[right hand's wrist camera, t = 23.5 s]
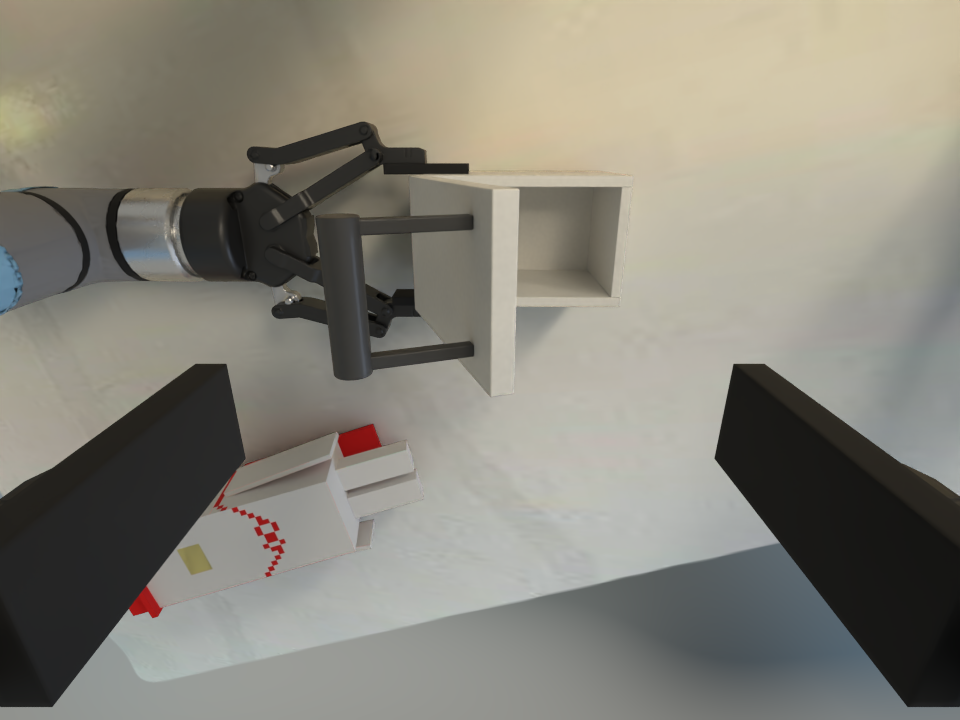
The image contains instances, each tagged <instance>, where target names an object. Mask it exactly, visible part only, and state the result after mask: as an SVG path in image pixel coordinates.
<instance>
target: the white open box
mask: <svg viewBox="0 0 960 720" xmlns="http://www.w3.org/2000/svg"><path fill="white" fill-rule="evenodd" d="M419 176H432V177H439V178H446V179H454V180H461V181H468V182H475V183H482V184H489V185H497V186H504V187H511V188H518V189H519V225H518V260H517V296H516V307H620V299H621V298H620V297H621V291H622V281H623V272H624V263H625V253H626V244H627V235H628V225H629V216H630V207H631V198H632V187H633V179H634V176H633V175H626V174H618V173H611V172H603V171H469V174H422V175H419Z"/></svg>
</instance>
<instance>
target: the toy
mask: <svg viewBox="0 0 960 720" xmlns="http://www.w3.org/2000/svg"><path fill="white" fill-rule="evenodd" d="M419 500H423V487H422V484H421V481H420V478H419V475H418V472H417V469H416V468H414V460H413V458H412V455H411V452H410V449H409V446H408V443H407V440H404V441H400V442H397V443H393V444H390V445H386V446H383V447H382V446H381V443H380V441H379V438H378V436H377V433H376V430H375V428H374V425H373V424H371V425H368V426H365V427H361V428H358V429H355V430H352V431H349V432H346V433H342V434H338V433H337V432H334V433H332V434H329V435H326V436H324V437H321V438H318V439H316V440H313V441H310V442H308V443H305V444H302V445H300V446H297V447H294V448H292V449H289V450H286V451H283V452H281V453H278V454H275V455H273V456H270V457H267V458H264V459H260V460H257V461H254V462H251V463H248V464H245V466H243V467H241V468H238V469H237V470H236V471H235V473H234V474H233V475H232V476H231V478H230V479H229V480H228V482H227V483H226V484H225V485H224V487H223V488H222V489H221V491H220V492H219V493H218V494H217V496H216V497H215V498H214V500H213V501H212V502H211V503H210V505H209V506H208V507H207V509H206V510H205V511H204V512H203V514H202V515H201V516H200V518H199V519H198V520H197V521H196V523H195V524H194V525H193V527H192V528H191V529H190V530H189V532H188V533H187V534H186V536H185V537H184V538H183V539H182V541H181V542H180V543H179V545H178V546H177V547H176V548H175V550H174V551H173V552H172V554H171V555H170V556H169V557H168V559H167V560H166V561H165V563H164V564H163V565H162V566H161V568H160V569H159V570H158V572H157V573H156V574H155V575H154V577H153V578H152V579H151V581H150V582H149V583H148V584H147V586H146V587H145V588H144V590H143V591H142V592H141V593H140V595H139V596H138V597H137V599H136V600H135V601H134V602H133V604H132V605H131V606H130V608H129V610H130V611H131V613H132V614H133V616H135V615H138V614H142V613H145V612H149V614H150V615H151V617H152V618H155V617H158V615H159V614H160V612H161V610H162V608H163V607H166V606H169V605H173V604H176V603H179V602H183V601H186V600H190V599H193V598H197V597H200V596H203V595H207V594H210V593H214V592H217V591H221V590H224V589H227V588H231V587H234V586H238V585H241V584H245V583H248V582H251V581H255V580H258V579H262V578H265V577H269V576H272V575H275V574H279V573H282V572H286V571H289V570H293V569H296V568H299V567H303V566H306V565H310V564H313V563H317V562H320V561H323V560H327V559H330V558H334V557H337V556H341V555H344V554H348V553H353V552H358V551H363V550H368V549H371V547H372V540H373V533H374V526H375V522H374V519H373V520H368V521H363V522H360V517H364V516H367V515H371V514H374V513H378V512H381V511H385V510H388V509H392V508H395V507H398V506H402V505H405V504H409V503H412V502H416V501H419Z"/></svg>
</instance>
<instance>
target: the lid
mask: <svg viewBox="0 0 960 720" xmlns="http://www.w3.org/2000/svg"><path fill="white" fill-rule="evenodd" d="M409 194H410V214H411V216H396V217H369V218H360V216H359V215H356V214H325V215H318V216H316V225H317V234H318V242H319V251H320V259H321V268H322V276H323V285H324V294H325V302H326V311H327V319H328V328H329V336H330V345H331V353H332V362H333V371H334V376H335V377H336V378H338V379H341V380H359V379H363V378H366V377H368V376H369V375H371V374H372V372H373V370H375V369H383V368H390V367H398V366H405V365H413V364H421V363H428V362H436V361H444V360H451V359H458V360H459V361H460V362H461V363H462V365H463V366H464V367H465V368H466V369H467V370H468V372H469V373H470V374H471V375H472V376H473V377H474V379H475V380H476V381H477V382H478V383H479V384H480V386H481V387H482V388H483V389H484V390H485V391H486V393H487V394H488V395H489V396H490V397H496V396H502V395H509V394H513V393H514V366H515V331H516V296H517V260H518V225H519V189H518V188H511V187H504V186H497V185H489V184H482V183H475V182H468V181H461V180H454V179H446V178H439V177H432V176H409ZM401 233H411V235H412V255H413V276H414V296H415V310H416V311H417V312H418V313H419V314H420V315H421V317H422V318H423V319H424V320H425V321H426V322H427V324H428V325H429V326H430V327H431V328H432V329H433V331H434V332H435V333H436V334H437V335H438V336H439V338H440V339H441V340H442V341H443V342H444V343H445V344H440V345H432V346H423V347H415V348H407V349H398V350H390V351H382V352H374V353H371V345H370V333H369V322H368V310H367V298H366V286H365V275H364V263H363V251H362V240H361V235H380V234H401Z"/></svg>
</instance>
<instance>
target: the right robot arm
mask: <svg viewBox="0 0 960 720" xmlns="http://www.w3.org/2000/svg"><path fill="white" fill-rule="evenodd" d="M244 460H245V454H244V449H243V444H242V439H241V434H240V429H239V424H238V419H237V414H236V409H235V404H234V399H233V394H232V390H231V385H230V380H229V375H228V370H227V365H226V364H195V365H193V366H192V367H191V368H189V369H188V370H187V371H185V372H184V373H182V374H181V375H180V376H178V377H177V378H176V379H174V380H173V381H171V382H170V383H169V384H167V385H166V386H165V387H163V388H162V389H160V390H159V391H158V392H156V393H155V394H154V395H152V396H151V397H149V398H148V399H147V400H145V401H144V402H143V403H141V404H140V405H138V406H137V407H136V408H134V409H133V410H132V411H130V412H129V413H128V414H126V415H125V416H123V417H122V418H121V419H119V420H118V421H117V422H115V423H114V424H112V425H111V426H110V427H108V428H107V429H106V430H104V431H103V432H101V433H100V434H99V435H97V436H96V437H95V438H93V439H92V440H90V441H89V442H88V443H86V444H85V445H84V446H82V447H81V448H79V449H78V450H77V451H75V452H74V453H73V454H71V455H70V456H68V457H67V458H66V459H64V460H63V461H62V462H60V463H59V464H57V465H56V466H55V467H53V468H52V469H50V470H48V471H45V472H43V473H41V474H39V475H37V476H35V477H33V478H31V479H29V480H27V481H25V482H23V483H22V484H21V485H19V486H18V487H16V488H15V489H14V490H12V491H11V492H9V493H8V494H7V495H5V496H4V497H2V498H1V499H0V707H53V705H54V704H55V703H56V702H57V700H58V699H59V698H60V696H61V695H62V694H63V693H64V691H65V690H66V689H67V687H68V686H69V685H70V684H71V682H72V681H73V680H74V678H75V677H76V676H77V674H78V673H79V672H80V671H81V669H82V668H83V667H84V665H85V664H86V663H87V662H88V660H89V659H90V658H91V657H92V655H93V654H94V653H95V651H96V650H97V649H98V648H99V646H100V645H101V644H102V642H103V641H104V640H105V638H106V637H107V636H108V635H109V633H110V632H111V631H112V630H113V628H114V627H115V626H116V624H117V623H118V622H119V621H120V619H121V618H122V617H123V615H124V614H125V613H126V611H127V610H128V609H129V608H130V606H131V605H132V604H133V602H134V601H135V600H136V599H137V597H138V596H139V595H140V593H141V592H142V591H143V590H144V588H145V587H146V586H147V584H148V583H149V582H150V581H151V579H152V578H153V577H154V575H155V574H156V573H157V572H158V570H159V569H160V568H161V566H162V565H163V564H164V563H165V561H166V560H167V559H168V557H169V556H170V555H171V554H172V552H173V551H174V550H175V548H176V547H177V546H178V545H179V543H180V542H181V541H182V539H183V538H184V537H185V536H186V534H187V533H188V532H189V530H190V529H191V528H192V527H193V525H194V524H195V523H196V521H197V520H198V519H199V518H200V516H201V515H202V514H203V512H204V511H205V510H206V509H207V507H208V506H209V505H210V503H211V502H212V501H213V500H214V498H215V497H216V496H217V494H218V493H219V492H220V491H221V489H222V488H223V487H224V485H225V484H226V483H227V482H228V480H229V479H230V478H231V476H232V475H233V474H234V473H235V471H236V470H237V469H238V467H239V466H240V465H241V464H242V462H243V461H244ZM715 460H716V461H717V462H718V464H719V465H720V466H721V467H722V469H723V470H724V471H725V473H726V474H727V475H728V476H729V478H730V479H731V480H732V482H733V483H734V484H735V485H736V487H737V488H738V489H739V491H740V492H741V493H742V494H743V496H744V497H745V498H746V500H747V501H748V502H749V503H750V505H751V506H752V507H753V509H754V510H755V511H756V512H757V514H758V515H759V516H760V518H761V519H762V520H763V521H764V523H765V524H766V525H767V527H768V528H769V529H770V530H771V532H772V533H773V534H774V536H775V537H776V538H777V539H778V541H779V542H780V543H781V545H782V546H783V547H784V548H785V550H786V551H787V552H788V554H789V555H790V556H791V557H792V559H793V560H794V561H795V563H796V564H797V565H798V566H799V568H800V569H801V570H802V572H803V573H804V574H805V575H806V577H807V578H808V579H809V581H810V582H811V583H812V585H813V586H814V587H815V588H816V590H817V591H818V592H819V594H820V595H821V596H822V597H823V599H824V600H825V601H826V602H827V604H828V605H829V606H830V608H831V609H832V610H833V612H834V613H835V614H836V615H837V617H838V618H839V619H840V620H841V622H842V623H843V624H844V626H845V627H846V628H847V630H848V631H849V632H850V633H851V635H852V636H853V637H854V639H855V640H856V641H857V642H858V644H859V645H860V646H861V648H862V649H863V650H864V651H865V653H866V654H867V655H868V656H869V658H870V659H871V660H872V662H873V663H874V664H875V665H876V667H877V668H878V669H879V671H880V672H881V673H882V675H883V676H884V677H885V678H886V680H887V681H888V682H889V684H890V685H891V686H892V687H893V689H894V690H895V691H896V692H897V694H898V695H899V696H900V698H901V699H902V700H903V701H904V703H905V704H906V705H907V707H960V496H958V495H957V494H956V493H954V492H953V491H951V490H950V489H948V488H947V487H946V486H944V485H943V484H941V483H940V482H939V481H937V480H936V479H934V478H932V477H930V476H927V475H925V474H923V473H921V472H919V471H917V470H915V469H913V468H911V467H909V466H907V465H904V464H901V463H900V462H898V461H897V460H896V459H894V458H893V457H892V456H890V455H889V454H887V453H886V452H885V451H883V450H882V449H881V448H879V447H878V446H876V445H875V444H874V443H872V442H871V441H870V440H868V439H867V438H865V437H864V436H863V435H861V434H860V433H859V432H857V431H856V430H854V429H853V428H852V427H850V426H849V425H848V424H846V423H845V422H843V421H842V420H841V419H839V418H838V417H837V416H835V415H834V414H832V413H831V412H830V411H828V410H827V409H826V408H824V407H823V406H821V405H820V404H819V403H817V402H816V401H815V400H813V399H812V398H811V397H809V396H808V395H806V394H805V393H804V392H802V391H801V390H800V389H798V388H797V387H795V386H794V385H793V384H791V383H790V382H789V381H787V380H786V379H784V378H783V377H782V376H780V375H779V374H778V373H776V372H775V371H773V370H772V369H771V368H769V367H768V366H767V365H765V364H734V365H733V370H732V375H731V380H730V385H729V389H728V394H727V399H726V404H725V409H724V414H723V419H722V424H721V429H720V434H719V439H718V444H717V449H716V454H715Z"/></svg>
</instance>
